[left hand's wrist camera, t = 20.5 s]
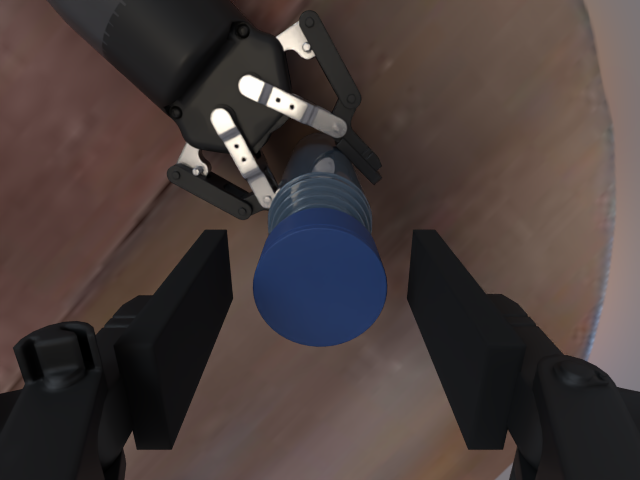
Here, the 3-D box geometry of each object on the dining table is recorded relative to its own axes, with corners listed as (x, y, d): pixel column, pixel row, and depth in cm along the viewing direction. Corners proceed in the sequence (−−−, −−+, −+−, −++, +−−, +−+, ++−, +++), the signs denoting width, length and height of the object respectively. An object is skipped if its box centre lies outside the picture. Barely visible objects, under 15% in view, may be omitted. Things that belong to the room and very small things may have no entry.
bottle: (346, 129, 32) (390, 202, 12) (351, 188, 33) (397, 336, 14) (286, 136, 32) (233, 219, 12) (294, 194, 34) (259, 349, 14)
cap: (372, 314, 15) (380, 349, 13) (262, 310, 15) (253, 344, 13) (383, 209, 14) (394, 231, 12) (261, 204, 14) (251, 224, 12)
